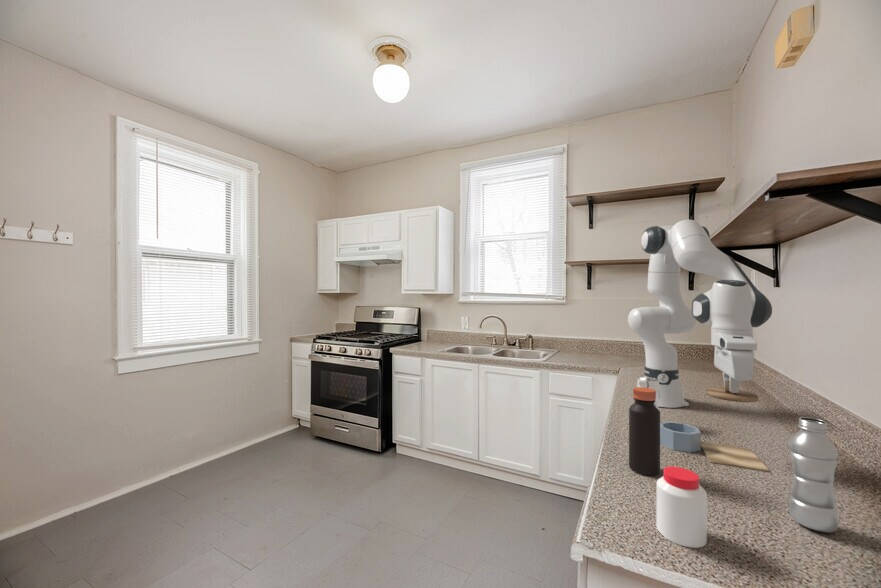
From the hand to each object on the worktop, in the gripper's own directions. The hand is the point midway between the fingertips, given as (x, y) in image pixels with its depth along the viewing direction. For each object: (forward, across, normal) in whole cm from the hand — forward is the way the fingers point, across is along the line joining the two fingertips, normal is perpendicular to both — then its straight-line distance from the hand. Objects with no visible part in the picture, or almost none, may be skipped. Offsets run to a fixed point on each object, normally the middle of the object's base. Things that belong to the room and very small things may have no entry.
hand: (731, 390), depth 100 cm
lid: (+2, 0, 0) cm, 2 cm away
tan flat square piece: (+18, 0, 0) cm, 18 cm away
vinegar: (+18, +19, -22) cm, 34 cm away
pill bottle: (+18, +44, -18) cm, 51 cm away
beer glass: (+18, -20, -18) cm, 32 cm away
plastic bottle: (+18, +31, +5) cm, 36 cm away
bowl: (+18, -3, -12) cm, 21 cm away
